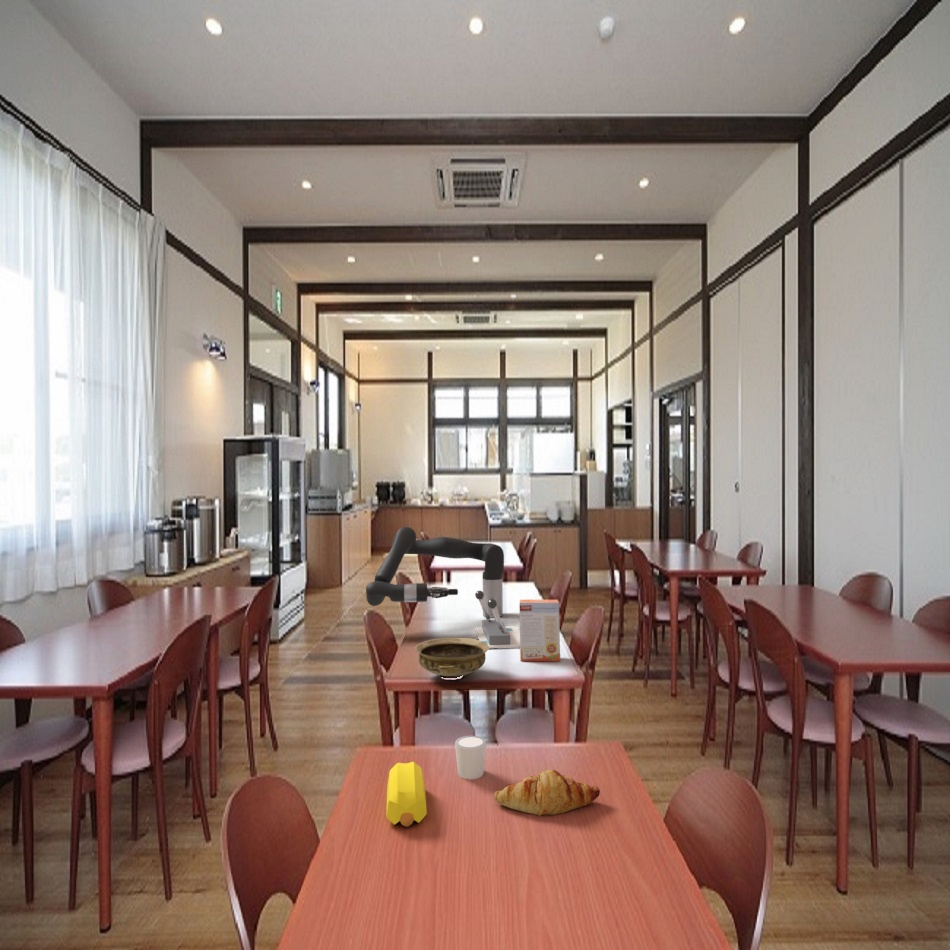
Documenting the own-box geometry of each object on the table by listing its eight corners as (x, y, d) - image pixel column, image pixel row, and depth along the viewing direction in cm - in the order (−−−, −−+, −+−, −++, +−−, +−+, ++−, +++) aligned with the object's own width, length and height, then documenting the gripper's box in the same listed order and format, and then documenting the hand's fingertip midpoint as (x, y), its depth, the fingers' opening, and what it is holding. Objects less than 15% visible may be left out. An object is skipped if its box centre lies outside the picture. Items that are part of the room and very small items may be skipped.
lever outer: (497, 632, 244) (485, 600, 243) (506, 628, 244) (494, 596, 244) (499, 634, 240) (486, 602, 240) (507, 631, 241) (495, 598, 240)
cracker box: (559, 657, 225) (558, 598, 225) (560, 662, 219) (559, 602, 219) (520, 656, 226) (519, 598, 226) (520, 661, 220) (519, 602, 220)
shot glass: (462, 783, 134) (462, 750, 134) (450, 769, 140) (450, 738, 140) (491, 776, 137) (491, 744, 137) (478, 763, 143) (478, 733, 143)
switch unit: (474, 629, 265) (474, 619, 265) (516, 628, 267) (516, 617, 267) (482, 649, 235) (482, 637, 235) (529, 647, 237) (529, 635, 237)
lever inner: (484, 621, 262) (473, 591, 261) (492, 618, 262) (481, 588, 261) (485, 623, 258) (474, 593, 257) (494, 620, 258) (482, 590, 258)
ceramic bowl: (483, 694, 188) (483, 661, 188) (405, 691, 191) (405, 659, 191) (493, 663, 218) (493, 635, 218) (425, 662, 221) (425, 633, 221)
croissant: (495, 831, 122) (495, 805, 119) (491, 784, 131) (492, 759, 127) (603, 825, 123) (607, 799, 119) (592, 779, 132) (595, 753, 128)
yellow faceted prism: (423, 783, 135) (387, 786, 134) (423, 752, 135) (387, 754, 134) (427, 830, 117) (385, 834, 116) (427, 794, 117) (385, 798, 116)
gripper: (415, 586, 250) (458, 585, 252) (415, 580, 264) (456, 580, 265) (415, 605, 250) (458, 604, 252) (415, 598, 263) (456, 597, 265)
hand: (457, 591), depth 259 cm, fingers closed
